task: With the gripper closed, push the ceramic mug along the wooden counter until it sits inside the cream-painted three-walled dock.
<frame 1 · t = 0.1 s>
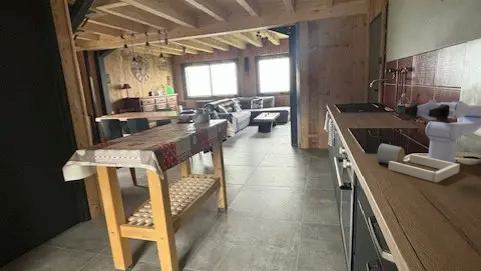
hand: (417, 112, 90), 22 cm above the counter, tool horizontal, fingers open, 7 cm apart
dock: (421, 170, 95), on the counter
ceramic mug: (390, 163, 105), on the counter
walnut block: (391, 156, 113), on the counter
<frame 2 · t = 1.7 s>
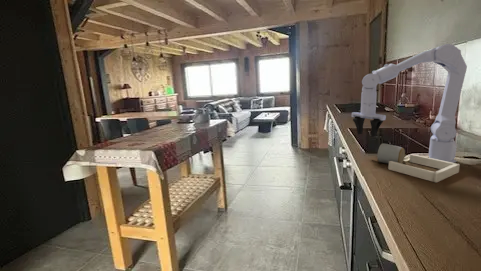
hand: (366, 135, 112), 9 cm above the counter, tool pointing down, fingers open, 6 cm apart
nothing on the counter moved.
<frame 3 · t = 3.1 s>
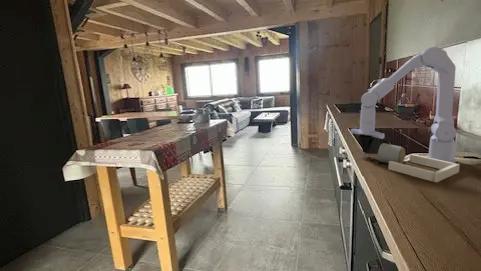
hand: (365, 152, 114), 2 cm above the counter, tool pointing down, fingers closed
nothing on the counter moved.
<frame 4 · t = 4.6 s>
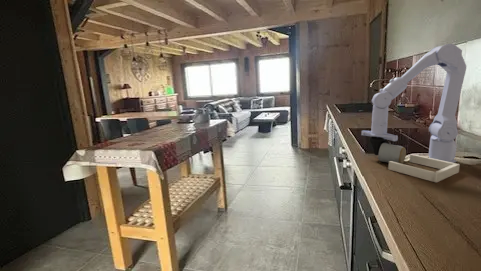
hand: (377, 154, 109), 2 cm above the counter, tool pointing down, fingers closed
ceramic mug: (391, 162, 106), on the counter, touching gripper
everything else where it was.
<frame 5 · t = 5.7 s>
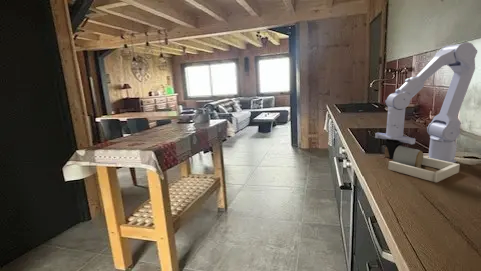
hand: (392, 158, 104), 2 cm above the counter, tool pointing down, fingers closed
ceramic mug: (407, 166, 100), on the counter, touching gripper
everything else where it was.
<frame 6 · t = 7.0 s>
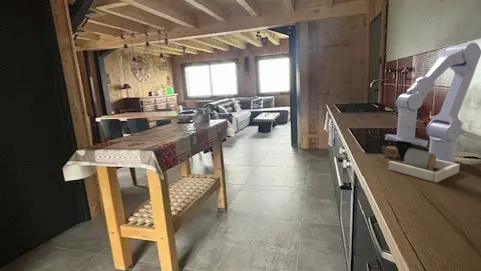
hand: (403, 160, 100), 2 cm above the counter, tool pointing down, fingers closed
ceramic mug: (418, 169, 97), on the counter, touching gripper
everything else where it was.
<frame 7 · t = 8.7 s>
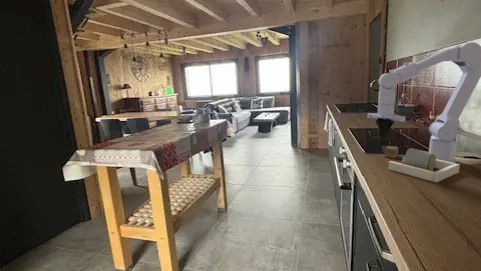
hand: (383, 137, 108), 9 cm above the counter, tool pointing down, fingers closed
ceramic mug: (419, 169, 97), on the counter
everything else where it was.
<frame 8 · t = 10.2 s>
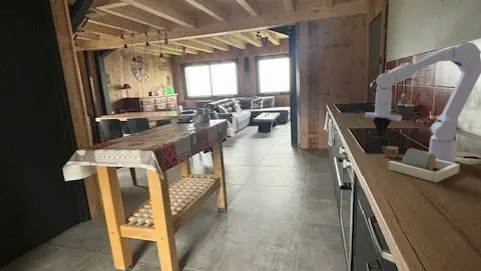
hand: (380, 135, 110), 9 cm above the counter, tool pointing down, fingers closed
nothing on the counter moved.
at the end: ceramic mug inside the target area on the dock (2.3 cm from its centre), point 0.0 cm above the dock's base; ceramic mug tilted 0° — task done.
